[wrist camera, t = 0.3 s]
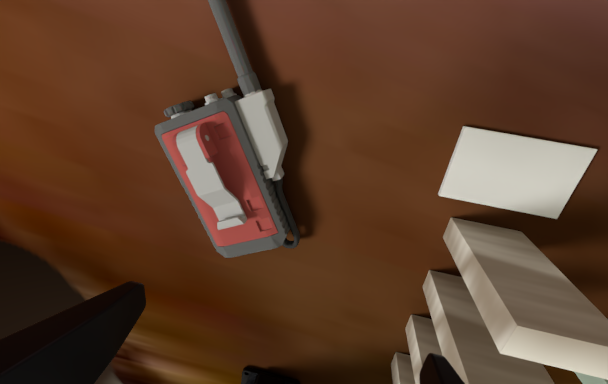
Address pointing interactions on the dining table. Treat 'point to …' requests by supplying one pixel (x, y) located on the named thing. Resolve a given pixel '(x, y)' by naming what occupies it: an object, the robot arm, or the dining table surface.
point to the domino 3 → (472, 337)
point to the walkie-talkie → (232, 158)
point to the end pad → (514, 171)
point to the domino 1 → (402, 369)
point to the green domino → (590, 379)
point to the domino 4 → (528, 299)
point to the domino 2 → (421, 342)
